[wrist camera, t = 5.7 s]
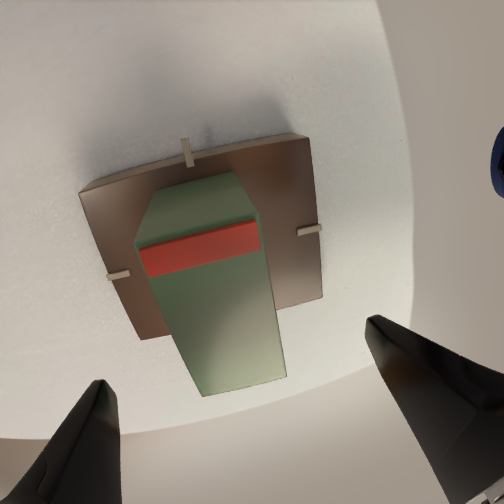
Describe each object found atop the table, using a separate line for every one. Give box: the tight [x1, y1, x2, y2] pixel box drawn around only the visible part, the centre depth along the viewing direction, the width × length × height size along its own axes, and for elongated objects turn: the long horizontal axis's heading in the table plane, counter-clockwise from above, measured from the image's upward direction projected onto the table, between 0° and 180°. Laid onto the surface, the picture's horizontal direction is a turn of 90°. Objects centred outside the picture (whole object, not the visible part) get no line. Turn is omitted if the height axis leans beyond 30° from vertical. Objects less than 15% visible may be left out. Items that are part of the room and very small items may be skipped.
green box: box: [134, 171, 287, 397], centre depth 14 cm, size 8×4×6 cm, turn 10°
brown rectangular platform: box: [78, 133, 323, 340], centre depth 17 cm, size 12×12×3 cm
